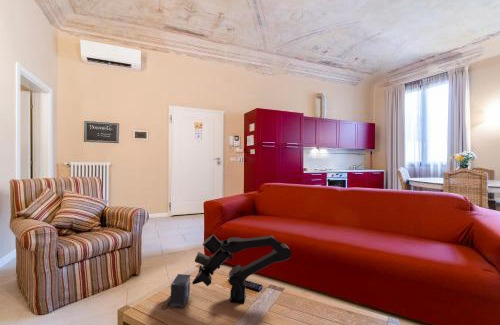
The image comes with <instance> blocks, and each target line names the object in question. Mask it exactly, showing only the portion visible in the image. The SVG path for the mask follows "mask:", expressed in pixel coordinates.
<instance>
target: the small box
mask: <svg viewBox="0 0 500 325" xmlns="http://www.w3.org/2000/svg"><path fill="white" fill-rule="evenodd" d="M190 290H191V274H182V273H178V274H177V275H176V276H175V278H174V279H173V281H172V282H171V284H170V295H171V301H170V304H169V308H174V309H175V308H176V309H184V308H185V306H186V303H187V302H188V300H189V298H190V292H191V291H190Z"/></svg>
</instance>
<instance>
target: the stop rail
mask: <svg viewBox="0 0 500 325" xmlns="http://www.w3.org/2000/svg"><path fill="white" fill-rule="evenodd" d="M170 301H171V294H170V295H169V297H168V298H167V299H166V300H165V301H164V302H163V303H162V304H161V309H162V310H166V309H167V308H168V306H170Z"/></svg>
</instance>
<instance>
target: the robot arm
mask: <svg viewBox="0 0 500 325" xmlns="http://www.w3.org/2000/svg"><path fill="white" fill-rule="evenodd" d="M202 246H203V247H204V248H205V249H206V250H207V251H208V252H209V253H210V254H213V255H209V256H207V254H204V253H202V252H199V251H198V252H197V254H196V256H195V257H194V262H195V263H197V264H200V265H199V267H198V268H199V269H198V272H197V274H196V276H195V278H194V279H193V280H192V285H196V284H200V283H203V284H204V285H206V287H209V286H211V285H212V279H213V278H212V276H214V272H216V271H217V269H218V270H219V269H220V268H221V266H222V264H224V262H226V261H227V260H230V261H231V262H232V261H233V257H234V254H236V253H239V252H240V253H241V252H242V251H244V250H246V249H253V248H263V247H271V248H272V250H271V251H270V252H269V253H267V254H266V255H264V256H262V257H260V258H258V259H256V260H254V261H252V262H249V264H247V265H245V266H241V265H240V264H237V265H236V266H234V267H231V269H230V270H229V272H228V283H229V285H230V286H231V288H230V295H229V296H230V297H229V298H230V302H231V303H237V304H245V302H246V299H247V295H246V293H247V292H246V291H247V290H246V288H247V285H246V280H247V278H249V276H252V275H254V274H256V273H258V272H259V271H261V270H263V269H265V268H266V267H268V266H270V265H272V264H274V263H280V262H284V261H287V260H289V259H291V257H292V250H291V248H289V246H288V245H287V244H286V243H283V242H281V241H279V240H278V239H276V238H275V237H274V236H273V235H271V234H270V235H267V236H259V237H251V238H250V237H249V238H248V237H247V238H242V237H236V236H235V237H233V236H232V237H229V238H228V239H222V240H219V238H218V237H217V236H216V235H215V233H214V234H213V233H212V235H210V236H209V237H207V238H206V239H205V240H204V241H203V243H202Z"/></svg>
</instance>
